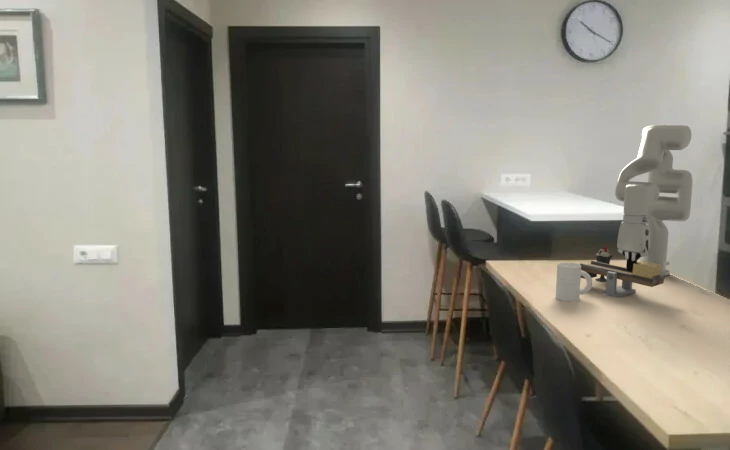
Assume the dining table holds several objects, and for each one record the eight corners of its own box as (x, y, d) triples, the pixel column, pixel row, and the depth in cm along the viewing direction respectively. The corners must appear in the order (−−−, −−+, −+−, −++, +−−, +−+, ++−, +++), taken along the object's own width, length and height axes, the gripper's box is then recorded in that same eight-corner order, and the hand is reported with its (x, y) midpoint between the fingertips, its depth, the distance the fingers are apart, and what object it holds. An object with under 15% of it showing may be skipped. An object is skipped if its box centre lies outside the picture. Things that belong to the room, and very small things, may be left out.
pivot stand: (620, 288, 231) (621, 266, 229) (635, 291, 226) (637, 269, 225) (601, 294, 223) (603, 271, 222) (617, 297, 218) (618, 274, 217)
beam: (590, 274, 237) (592, 259, 236) (662, 291, 216) (664, 274, 215) (578, 277, 233) (579, 262, 232) (651, 295, 211) (652, 278, 210)
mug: (592, 303, 212) (593, 269, 210) (555, 300, 216) (557, 266, 214) (590, 296, 220) (592, 263, 218) (555, 294, 223) (557, 261, 222)
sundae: (608, 283, 238) (610, 245, 236) (590, 280, 242) (592, 243, 240) (613, 279, 243) (615, 242, 241) (596, 277, 247) (598, 240, 245)
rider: (641, 274, 220) (642, 261, 219) (660, 279, 214) (661, 265, 214) (632, 277, 216) (633, 263, 215) (651, 282, 211) (653, 267, 210)
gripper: (661, 221, 213) (657, 273, 216) (620, 216, 225) (617, 265, 228) (649, 223, 209) (645, 276, 212) (609, 218, 220) (606, 268, 223)
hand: (631, 270), depth 220 cm, fingers closed
